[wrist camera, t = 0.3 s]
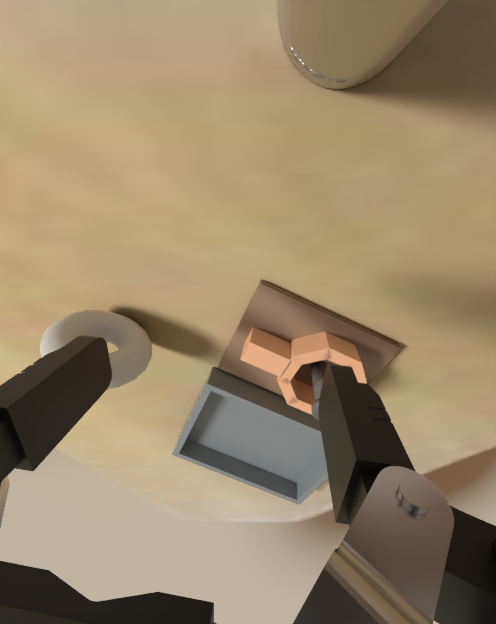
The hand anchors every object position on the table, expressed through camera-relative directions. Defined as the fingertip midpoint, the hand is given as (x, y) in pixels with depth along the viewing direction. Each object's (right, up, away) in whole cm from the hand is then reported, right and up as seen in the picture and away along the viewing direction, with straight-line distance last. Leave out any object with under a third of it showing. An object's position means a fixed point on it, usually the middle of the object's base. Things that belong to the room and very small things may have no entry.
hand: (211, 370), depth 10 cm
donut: (-13, +1, +22) cm, 26 cm away
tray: (+3, -15, +28) cm, 31 cm away
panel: (+8, -3, +21) cm, 22 cm away
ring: (+7, -3, +20) cm, 21 cm away
